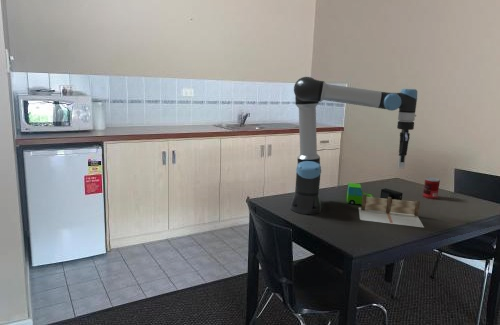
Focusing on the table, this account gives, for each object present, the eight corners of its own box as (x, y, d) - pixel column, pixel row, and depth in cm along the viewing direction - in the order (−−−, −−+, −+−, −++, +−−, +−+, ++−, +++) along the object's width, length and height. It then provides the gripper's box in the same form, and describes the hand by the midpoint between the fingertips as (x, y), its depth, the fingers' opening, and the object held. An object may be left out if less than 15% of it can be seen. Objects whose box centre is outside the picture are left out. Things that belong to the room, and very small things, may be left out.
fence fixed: (361, 210, 196) (362, 194, 194) (360, 209, 198) (362, 193, 196) (389, 213, 193) (391, 198, 191) (389, 212, 195) (391, 197, 193)
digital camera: (378, 201, 214) (379, 189, 213) (383, 200, 218) (385, 187, 216) (395, 206, 206) (397, 194, 205) (401, 205, 210) (402, 192, 208)
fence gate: (390, 212, 193) (392, 198, 191) (390, 211, 195) (392, 197, 193) (418, 216, 190) (420, 201, 189) (417, 214, 192) (419, 200, 190)
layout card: (360, 220, 182) (360, 219, 182) (358, 208, 200) (358, 207, 200) (424, 228, 176) (424, 227, 176) (416, 215, 195) (416, 213, 194)
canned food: (438, 196, 229) (440, 178, 227) (436, 200, 222) (439, 181, 220) (423, 194, 233) (426, 176, 230) (421, 197, 226) (424, 179, 224)
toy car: (373, 208, 202) (375, 189, 200) (347, 205, 205) (349, 187, 203) (371, 202, 212) (373, 184, 210) (346, 199, 214) (348, 182, 212)
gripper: (416, 122, 184) (411, 171, 189) (411, 120, 196) (406, 166, 201) (400, 122, 185) (394, 170, 190) (396, 119, 198) (391, 165, 203)
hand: (401, 168), depth 196 cm, fingers closed
